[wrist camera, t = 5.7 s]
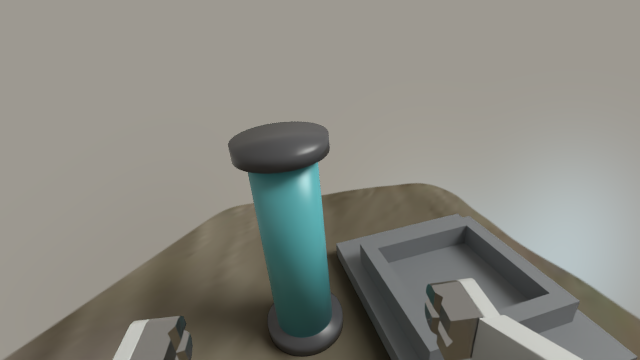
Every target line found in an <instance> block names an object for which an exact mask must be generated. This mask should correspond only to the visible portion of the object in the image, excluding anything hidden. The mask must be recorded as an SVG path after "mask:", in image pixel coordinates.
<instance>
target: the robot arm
mask: <svg viewBox="0 0 640 360" xmlns="http://www.w3.org/2000/svg"><path fill="white" fill-rule="evenodd" d="M426 294H427V296H428V299H427V301H426V302H425V316H426V320H427V323H428V326H429V328H430V330H431V332H433V333H434V334H436V335H437V342H436V343H437V345H438V347H439V349H440V352H441V354H442V356H443V358H444V360H462V359H471V360H583V359H581V358H579V357H578V356H576V355H574V354H572V353H571V352H569V351H567V350H565V349H564V348H562V347H560V346H558V345H557V344H555V343H553V342H551V341H550V340H548V339H546V338H544V337H543V336H541V335H539V334H537V333H536V332H534V331H532V330H530V329H529V328H527V327H525V326H523V325H522V324H520V323H518V322H516V321H515V320H513V319H511V318H509V317H508V316H506V315H500V314H499V313H498V311H497V310H496V309H495V307H494V306H493V305H492V303H491V302H490V300H489V299H488V298H487V296H486V295H485V294H484V292H483V291H482V289H481V288H480V287H479V285H478V284H477V283H476V281H475V280H474V279H472V278H467V279H460V280H452V281H445V282H438V283H431V284H428V285H427V287H426ZM185 326H186V322H185V319H184V317H183V316H175V317H165V318H156V319H149V320H139V321H134V322H133V323H132V324H130V326H129V328H128V330H127V332H126V334H125V336H124V338H123V340H122V342H121V344H120V346H119V348H118V350H117V352H116V354H115V356H114V358H113V360H191V356H192V338H191V335H190V333H189V332H187V331H186V330H184V329H185Z"/></svg>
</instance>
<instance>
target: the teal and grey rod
mask: <svg viewBox="0 0 640 360" xmlns="http://www.w3.org/2000/svg"><path fill="white" fill-rule="evenodd" d="M228 147H229V152H230V156H231V160H232V164H233V165H234V166H235V167H236V168H238V169H240V170H243V171H246V172H248V176H249V181H250V185H251V190H252V195H253V200H254V205H255V210H256V215H257V220H258V225H259V230H260V235H261V240H262V245H263V250H264V255H265V260H266V265H267V270H268V275H269V280H270V285H271V290H272V295H273V300H274V303H273V305H272V306H271V308H270V311H269V313H268V327H269V332H270V336H271V339H272V341H273V342H274V344H275V345H276V346H277V347H278V348H279V349H280V350H282V351H283V352H285V353H287V354H290V355H294V356H311V355H315V354H318V353H320V352H322V351H324V350H326V349H327V348H329V347H330V346H331V345H332V344H334V342H335V341H336V340H337V339H338V337H339V335H340V333H341V331H342V327H343V315H342V307H341V304H340V302H339V300H338V299H337V298H336V297H335V296H334V295H333V294H332V293H331V292H330V284H329V273H328V263H327V252H326V242H325V232H324V221H323V211H322V201H321V191H320V180H319V169H318V162H319V161H320V160H322V159H323V158H324V157H325V156H327V154H328V153H329V148H330V147H329V135H328V131H327V129H326V128H325V127H323V126H321V125H318V124H315V123H309V122H280V123H272V124H266V125H262V126H258V127H254V128H251V129H248V130H246V131H243V132H241V133H239V134H237V135H236V136H234V137H233V138H232V139H231V140H230V141H229V143H228Z"/></svg>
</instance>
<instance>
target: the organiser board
mask: <svg viewBox="0 0 640 360" xmlns="http://www.w3.org/2000/svg"><path fill="white" fill-rule="evenodd" d="M336 247H337V256H338V258H339V260H340V262H341V264H342V266H343V268H344V270H345V271H346V273H347V275H348V277H349V279H350V281H351V283H352V285H353V287H354V289H355V291H356V293H357V295H358V296H359V298H360V300H361V302H362V304H363V306H364V308H365V310H366V312H367V314H368V316H369V318H370V320H371V321H372V323H373V325H374V327H375V329H376V331H377V333H378V335H379V337H380V339H381V341H382V343H383V345H384V347H385V348H386V350H387V352H388V354H389V356H390V358H391V360H444V358H443V356H442V354H441V352H440V349H439V347H438V345H437V343H436V342H437V335H436V334H434V333H433V332H431V330H430V328H429V326H428V323H427V320H426V316H425V302H426V301H427V299H428V296H427V294H426V287H427V285H428V284H431V283H438V282H445V281H452V280H460V279H467V278H472V279H474V280H475V281H476V283H477V284H478V285H479V287H480V288H481V289H482V291H483V292H484V294H485V295H486V296H487V298H488V299H489V300H490V302H491V303H492V305H493V306H494V307H495V309H496V310H497V311H498V313H499V314H500V315H506V316H508V317H509V318H511V319H513V320H515V321H516V322H518V323H520V324H522V325H523V326H525V327H527V328H529V329H530V330H532V331H534V332H536V333H537V334H539V335H541V336H543V337H544V338H546V339H548V340H550V341H551V342H553V343H555V344H557V345H558V346H560V347H562V348H564V349H565V350H567V351H569V352H571V353H572V354H574V355H576V356H578V357H579V358H581V359H583V360H636V359H637V356H636V355H634V354H633V353H632V352H631V351H629V350H628V349H627V348H626V347H624V346H623V345H622V344H621V343H619V342H618V341H617V340H616V339H614V338H613V337H612V336H611V335H609V334H608V333H607V332H606V331H604V330H603V329H602V328H601V327H599V326H598V325H597V324H596V323H594V322H593V321H592V320H591V319H589V318H588V317H587V316H586V315H584V314H583V313H582V312H581V311H579V310H578V309H577V307H578V305H579V302H580V301H579V300H578V299H576V298H575V297H574V296H572V295H571V294H570V293H569V292H567V291H566V290H565V289H563V288H562V287H561V286H559V285H558V284H557V283H556V282H554V281H553V280H552V279H550V278H549V277H548V276H546V275H545V274H544V273H543V272H541V271H540V270H539V269H537V268H536V267H535V266H533V265H532V264H531V263H530V262H528V261H527V260H526V259H524V258H523V257H522V256H520V255H519V254H518V253H517V252H515V251H514V250H513V249H511V248H510V247H509V246H507V245H506V244H505V243H504V242H502V241H501V240H500V239H498V238H497V237H496V236H494V235H493V234H492V233H491V232H489V231H488V230H487V229H485V228H484V227H483V226H482V225H480V224H479V223H478V222H476V221H475V220H474V219H472V218H471V217H470V216H468V217H464V218H463V217H461V216H460V215H459V214H454V215H450V216H446V217H442V218H438V219H434V220H430V221H426V222H422V223H418V224H414V225H410V226H405V227H401V228H397V229H393V230H389V231H385V232H381V233H377V234H373V235H369V236H365V237H361V238H357V239H353V240H349V241H345V242H341V243H337V244H336ZM462 360H471V359H462Z"/></svg>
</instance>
